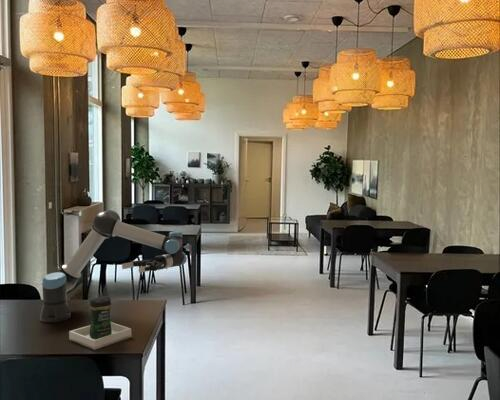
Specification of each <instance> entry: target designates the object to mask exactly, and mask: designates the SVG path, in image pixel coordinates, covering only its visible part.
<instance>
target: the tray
mask: <svg viewBox="0 0 500 400" xmlns="http://www.w3.org/2000/svg"><path fill="white" fill-rule="evenodd" d="M110 322H111V331H112V334H111V335H108V336H105V337H102V338H99V339H94V338H91V337H90V324H89V325H87V326H83V327H82V326H81V327H79V328H76V329H72V330H69V331H68V337H69V338H68V339H69V341H71V342H74V343H76V344H79V345H80V346H84V347H86V348H89V349H91V350H94V351H95V350H99V349H102V348H104V347H107V346H109V345H112V344H115V343H116V344H117V343H118V342H121V341H124V340H127V339H129V338H132V336H133V335H132V327H131V328H130V327H128V326H124V325H122V324H118V323H115V322H112V321H110Z"/></svg>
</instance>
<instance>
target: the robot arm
mask: <svg viewBox="0 0 500 400" xmlns="http://www.w3.org/2000/svg"><path fill="white" fill-rule="evenodd" d="M121 220H122V219H121V217H120V215H119V213H118V212H117V211H115V210H111V209H106V210H104V211H101V212H98V213H97V214H95V216H94V217H93V221H92V224H91V231H90V232H89V233H88V235H87V236H86V238H84V240H83V242H82V243H81V244H80V246H79V247H78V248H77V249H76V251H75V252H74V254H73V255H72V256H71V258H70V259H69V261H68V262H67V263H66V264H62V265H61V267H60V268H59V270H57V272H50V273H47V274H45V275H44V276H43V278H42V283H41V285H42V307H41V312H40V314H39V321H40V322H42V323H58V322H59V323H60V322H63V321H66V320H69V319H71V313H72V312H71V309H70V308H69V307H70V306H69V305H68V301H67V299H68V298H67V294H68V292H69V291H71V290H73V289H74V288H75V287H76V286H77V284H78V281H79V279H80V278H82V273H81V272H82V271H83V269H84V268H85V267H86V265H87V264H88V263H89V262H90V260H91V258H92V257H93V256H94V254H95V253H96V251H98V249H99V248H100V246H101V244H103V242H104V241H105V240H106V239H109V238H110V237H120V238H123V239H126V240H129V241H133V242H136V243H139V244H142V245H146V246H149V247H153V248H156V249H159V250H162V251H164V252H166V253H167V254H162V255H161V254H160V255H156V256H154V258H153V259H142V260H130V262H124V263H121V269H122V270H125V269H134V267H136V268H137V267H138V273H139V274H141V273H145V272H146V273H147V272H149V271H154V272H156V271H160V270H161V271H162V270H164V269H166V270H168V269H169V268H174V267H180V266H182V265H185V264H186V263H187V260H188V259H187V257H188V256H187V254H186V253H185V252H184V251H183V232H181V231H170V232H168V236H166V235H164V234H161V233H158V232H154V231H151V230H148V229H145V228H141V227H138V226H135V225H132V224H128V223H125V222H123V221H121Z"/></svg>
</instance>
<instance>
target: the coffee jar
mask: <svg viewBox="0 0 500 400" xmlns="http://www.w3.org/2000/svg"><path fill="white" fill-rule="evenodd" d="M111 307H112V302H111V297H109V296H107V295H105V296H98V297H92V298H90V299H89V310H90V324H89V325H90V337H91V338H94V339H99V338H102V337H105V336H108V335H111V334H112V331H111V322H112V321H111V314H110V313H111Z"/></svg>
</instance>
